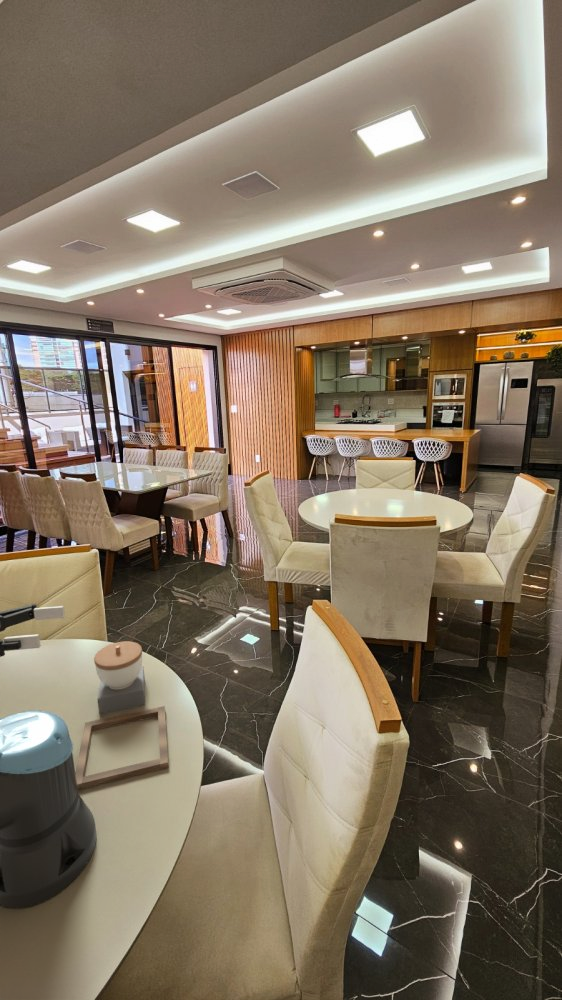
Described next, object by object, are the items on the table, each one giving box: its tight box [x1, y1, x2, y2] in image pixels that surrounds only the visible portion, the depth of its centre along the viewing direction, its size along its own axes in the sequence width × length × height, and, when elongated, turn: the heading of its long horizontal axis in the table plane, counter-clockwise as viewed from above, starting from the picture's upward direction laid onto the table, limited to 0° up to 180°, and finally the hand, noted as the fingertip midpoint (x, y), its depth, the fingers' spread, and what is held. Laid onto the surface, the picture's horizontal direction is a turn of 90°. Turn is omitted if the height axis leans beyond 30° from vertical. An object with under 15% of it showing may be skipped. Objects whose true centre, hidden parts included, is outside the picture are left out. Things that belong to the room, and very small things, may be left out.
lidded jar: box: [93, 640, 143, 690], centre depth 104 cm, size 11×11×9 cm
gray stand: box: [97, 665, 146, 715], centre depth 106 cm, size 10×10×4 cm
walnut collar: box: [75, 705, 169, 791], centre depth 90 cm, size 17×17×1 cm
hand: (52, 625), depth 97 cm, fingers open, 13 cm apart
